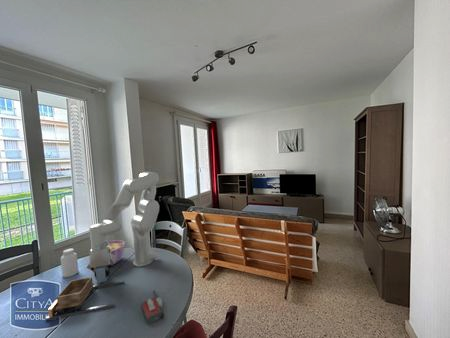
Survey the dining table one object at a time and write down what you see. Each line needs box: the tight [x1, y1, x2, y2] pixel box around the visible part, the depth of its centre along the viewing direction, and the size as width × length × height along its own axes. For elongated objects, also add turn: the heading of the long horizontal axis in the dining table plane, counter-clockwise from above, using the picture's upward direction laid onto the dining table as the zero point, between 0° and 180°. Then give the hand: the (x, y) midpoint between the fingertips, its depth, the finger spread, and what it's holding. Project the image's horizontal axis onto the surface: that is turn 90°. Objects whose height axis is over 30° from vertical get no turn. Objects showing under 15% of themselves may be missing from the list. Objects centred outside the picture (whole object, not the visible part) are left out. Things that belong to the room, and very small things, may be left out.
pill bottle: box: [60, 248, 79, 278], centre depth 123 cm, size 8×8×15 cm
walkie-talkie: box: [140, 289, 165, 325], centre depth 91 cm, size 9×4×20 cm
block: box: [95, 266, 110, 284], centre depth 115 cm, size 4×4×8 cm
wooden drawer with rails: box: [45, 280, 125, 321], centre depth 99 cm, size 27×19×5 cm
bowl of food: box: [107, 239, 125, 265], centre depth 133 cm, size 20×20×12 cm
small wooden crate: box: [56, 276, 95, 314], centre depth 98 cm, size 10×15×8 cm, turn 14°
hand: (102, 276), depth 115 cm, fingers closed on block, 4 cm apart
